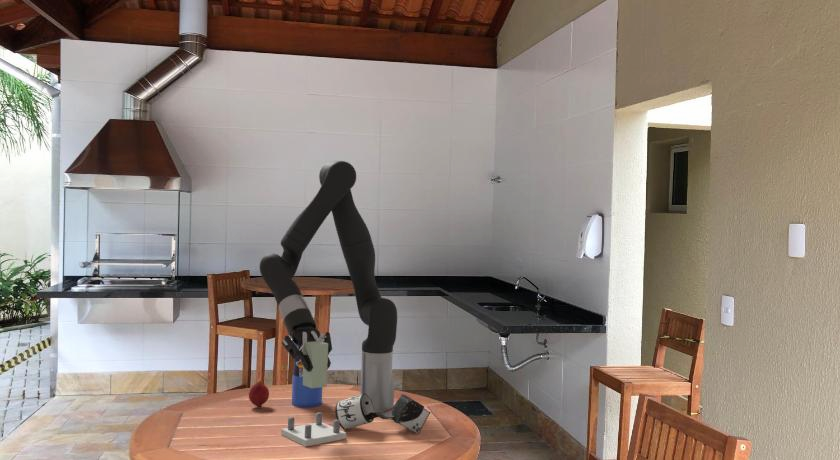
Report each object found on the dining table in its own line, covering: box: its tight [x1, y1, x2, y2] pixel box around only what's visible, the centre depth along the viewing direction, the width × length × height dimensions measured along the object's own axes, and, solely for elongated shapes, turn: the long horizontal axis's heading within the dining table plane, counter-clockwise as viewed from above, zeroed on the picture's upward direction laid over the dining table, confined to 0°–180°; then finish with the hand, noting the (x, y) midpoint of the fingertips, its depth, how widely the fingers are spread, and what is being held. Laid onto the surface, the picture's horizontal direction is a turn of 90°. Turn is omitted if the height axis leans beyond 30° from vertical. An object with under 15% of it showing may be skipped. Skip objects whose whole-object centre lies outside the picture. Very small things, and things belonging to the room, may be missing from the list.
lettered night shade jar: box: [334, 393, 431, 435], centre depth 196 cm, size 25×10×10 cm, turn 92°
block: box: [303, 341, 329, 388], centre depth 188 cm, size 4×4×11 cm
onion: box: [248, 379, 270, 408], centre depth 216 cm, size 6×6×8 cm
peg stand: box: [280, 412, 347, 447], centre depth 189 cm, size 12×12×4 cm
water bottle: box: [291, 338, 323, 408], centre depth 222 cm, size 9×9×25 cm
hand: (319, 368), depth 187 cm, fingers closed on block, 4 cm apart
